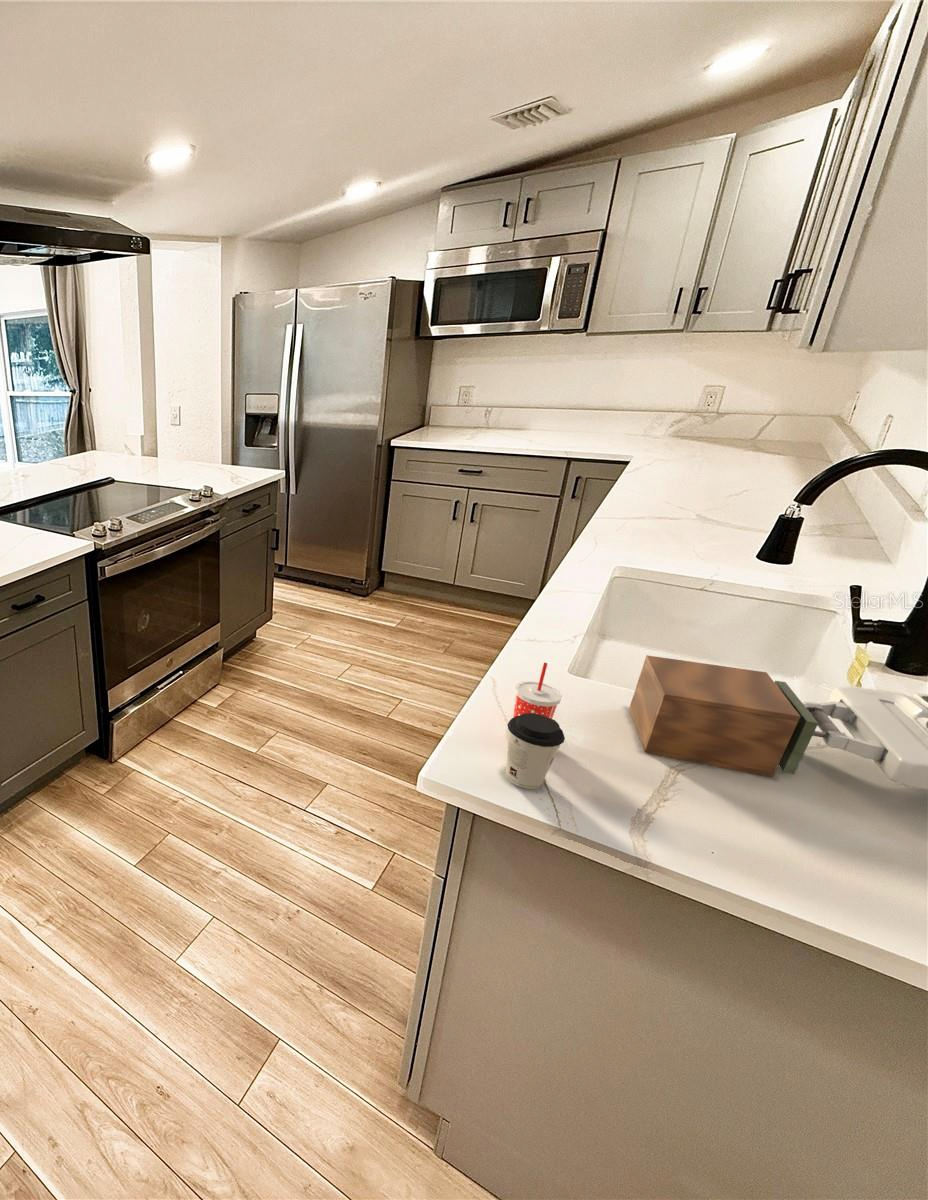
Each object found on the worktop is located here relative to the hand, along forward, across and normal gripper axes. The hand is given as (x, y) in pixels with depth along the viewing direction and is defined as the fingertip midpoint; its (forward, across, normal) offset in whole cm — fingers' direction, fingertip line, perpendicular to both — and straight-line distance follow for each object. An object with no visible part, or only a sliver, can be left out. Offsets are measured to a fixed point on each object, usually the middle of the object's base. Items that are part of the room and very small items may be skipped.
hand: (813, 722), depth 88 cm
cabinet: (+12, 0, -7) cm, 13 cm away
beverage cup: (+35, -9, -7) cm, 36 cm away
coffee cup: (+36, -20, -7) cm, 41 cm away
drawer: (+7, 0, -6) cm, 9 cm away
